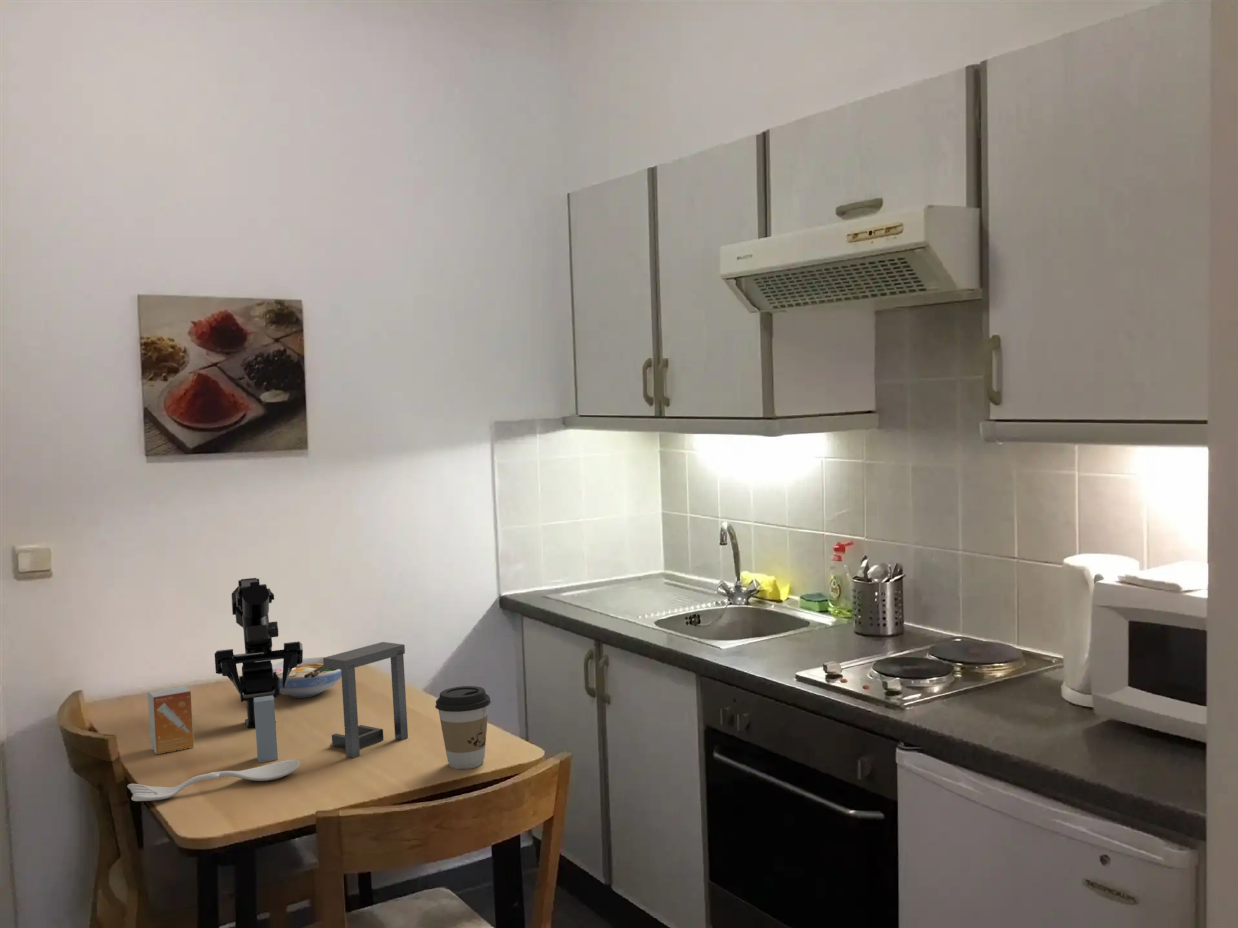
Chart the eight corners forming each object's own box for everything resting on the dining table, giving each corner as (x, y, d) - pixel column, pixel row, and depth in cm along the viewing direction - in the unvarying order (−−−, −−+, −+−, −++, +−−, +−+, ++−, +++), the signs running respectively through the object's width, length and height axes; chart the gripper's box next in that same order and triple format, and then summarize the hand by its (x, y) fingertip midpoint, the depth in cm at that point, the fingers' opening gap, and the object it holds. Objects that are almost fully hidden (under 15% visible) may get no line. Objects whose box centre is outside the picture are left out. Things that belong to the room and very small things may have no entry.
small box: (156, 755, 241) (152, 696, 240) (150, 748, 246) (146, 691, 246) (194, 747, 245) (191, 690, 245) (188, 741, 251) (184, 685, 250)
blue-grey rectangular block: (257, 757, 236) (253, 697, 236) (276, 754, 238) (273, 695, 237) (258, 762, 232) (254, 702, 232) (277, 759, 234) (274, 699, 233)
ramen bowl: (285, 682, 303) (283, 653, 302) (364, 681, 300) (363, 652, 299) (242, 707, 278) (240, 675, 278) (328, 707, 275) (326, 674, 274)
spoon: (128, 799, 214) (126, 782, 214) (294, 767, 229) (293, 750, 229) (132, 813, 206) (131, 795, 206) (304, 778, 221) (303, 761, 221)
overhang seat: (313, 750, 239) (307, 655, 238) (372, 730, 253) (367, 639, 252) (350, 758, 232) (345, 660, 231) (409, 737, 246) (404, 644, 245)
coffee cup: (469, 775, 218) (465, 701, 217) (426, 768, 224) (422, 695, 223) (505, 758, 227) (501, 687, 226) (462, 751, 233) (459, 682, 233)
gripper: (211, 615, 242) (215, 674, 233) (299, 606, 249) (306, 663, 239) (214, 643, 250) (217, 702, 240) (298, 634, 257) (305, 691, 247)
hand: (262, 689), depth 241 cm, fingers open, 9 cm apart
